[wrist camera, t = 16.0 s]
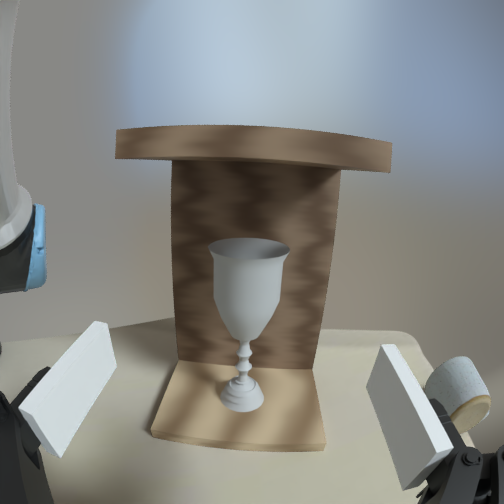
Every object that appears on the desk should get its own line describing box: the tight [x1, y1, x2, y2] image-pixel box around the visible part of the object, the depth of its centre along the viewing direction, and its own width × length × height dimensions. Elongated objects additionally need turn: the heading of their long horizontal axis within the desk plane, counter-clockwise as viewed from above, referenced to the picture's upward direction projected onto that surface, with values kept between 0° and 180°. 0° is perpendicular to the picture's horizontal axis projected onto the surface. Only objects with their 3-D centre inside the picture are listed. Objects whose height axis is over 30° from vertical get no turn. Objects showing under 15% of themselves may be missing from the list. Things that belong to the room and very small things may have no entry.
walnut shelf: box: [115, 125, 392, 452], centre depth 27 cm, size 18×14×29 cm
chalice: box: [208, 238, 290, 412], centre depth 28 cm, size 7×7×18 cm
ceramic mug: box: [425, 356, 491, 434], centre depth 25 cm, size 11×8×8 cm
